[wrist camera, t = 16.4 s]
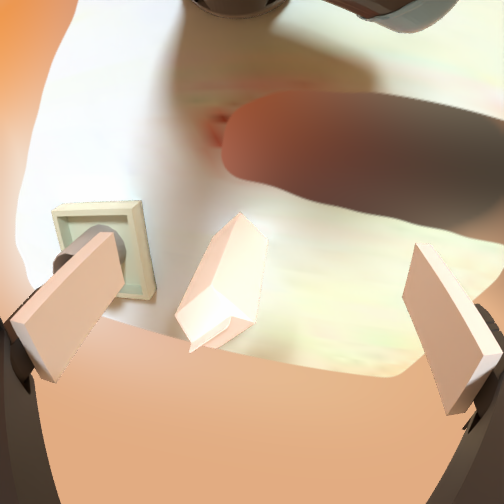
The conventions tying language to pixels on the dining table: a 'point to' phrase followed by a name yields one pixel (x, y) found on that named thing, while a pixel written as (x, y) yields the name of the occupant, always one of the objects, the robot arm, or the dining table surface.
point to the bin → (127, 226)
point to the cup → (83, 240)
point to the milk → (225, 286)
